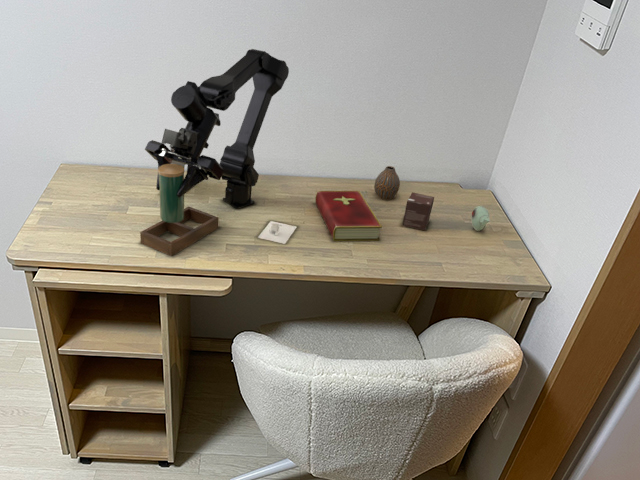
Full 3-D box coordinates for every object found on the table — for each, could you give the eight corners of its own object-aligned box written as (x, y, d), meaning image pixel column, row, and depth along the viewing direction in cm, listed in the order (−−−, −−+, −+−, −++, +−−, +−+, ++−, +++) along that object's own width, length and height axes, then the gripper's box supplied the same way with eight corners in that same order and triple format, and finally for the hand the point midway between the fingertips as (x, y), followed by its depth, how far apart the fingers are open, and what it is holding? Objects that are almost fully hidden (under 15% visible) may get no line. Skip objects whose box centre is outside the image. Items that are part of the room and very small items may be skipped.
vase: (400, 195, 176) (406, 167, 171) (391, 204, 171) (398, 174, 166) (377, 189, 178) (383, 161, 173) (368, 197, 174) (374, 168, 169)
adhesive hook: (268, 234, 152) (269, 223, 151) (271, 230, 154) (272, 219, 153) (279, 237, 151) (280, 226, 150) (283, 232, 154) (284, 221, 152)
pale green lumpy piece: (487, 238, 156) (495, 214, 153) (471, 236, 157) (478, 213, 153) (479, 223, 163) (486, 200, 159) (464, 222, 163) (471, 199, 159)
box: (429, 222, 162) (435, 196, 158) (424, 231, 158) (431, 205, 154) (406, 216, 164) (411, 191, 160) (401, 226, 160) (407, 200, 156)
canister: (175, 209, 146) (174, 161, 139) (189, 218, 143) (189, 170, 136) (155, 215, 143) (153, 167, 136) (168, 225, 139) (167, 176, 133)
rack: (188, 216, 158) (188, 206, 157) (218, 228, 154) (218, 217, 152) (140, 243, 146) (140, 232, 144) (171, 256, 141) (171, 244, 140)
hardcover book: (332, 241, 151) (334, 225, 149) (314, 204, 168) (316, 189, 166) (379, 240, 152) (382, 225, 150) (357, 203, 170) (359, 189, 167)
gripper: (148, 104, 136) (117, 166, 135) (217, 123, 128) (185, 188, 127) (171, 130, 146) (142, 188, 145) (236, 148, 138) (207, 209, 137)
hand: (167, 193), depth 138 cm, fingers closed on canister, 5 cm apart
